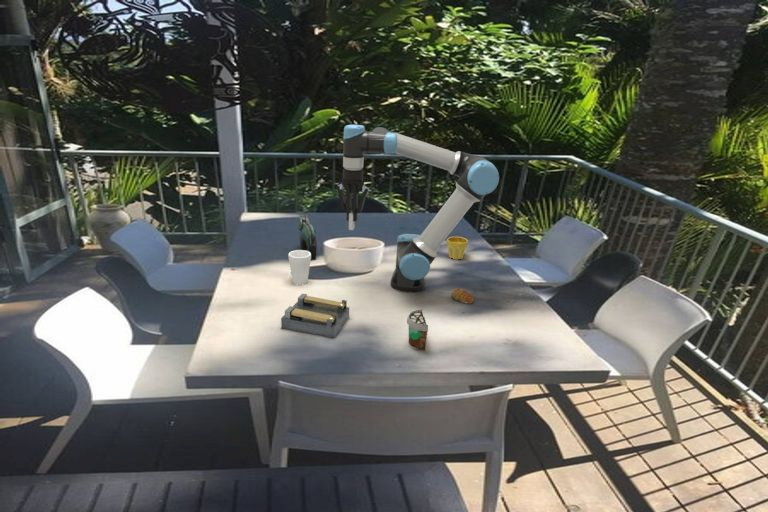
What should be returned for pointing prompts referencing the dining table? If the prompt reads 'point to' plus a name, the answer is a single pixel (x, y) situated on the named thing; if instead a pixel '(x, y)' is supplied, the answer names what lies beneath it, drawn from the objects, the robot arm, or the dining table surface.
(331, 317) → the latch bar front
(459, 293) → the pastry
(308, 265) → the foam cup
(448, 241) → the plant pot
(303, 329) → the base
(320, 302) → the bar
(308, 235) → the ceramic cat
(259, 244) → the dining table surface
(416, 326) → the iced coffee cup
